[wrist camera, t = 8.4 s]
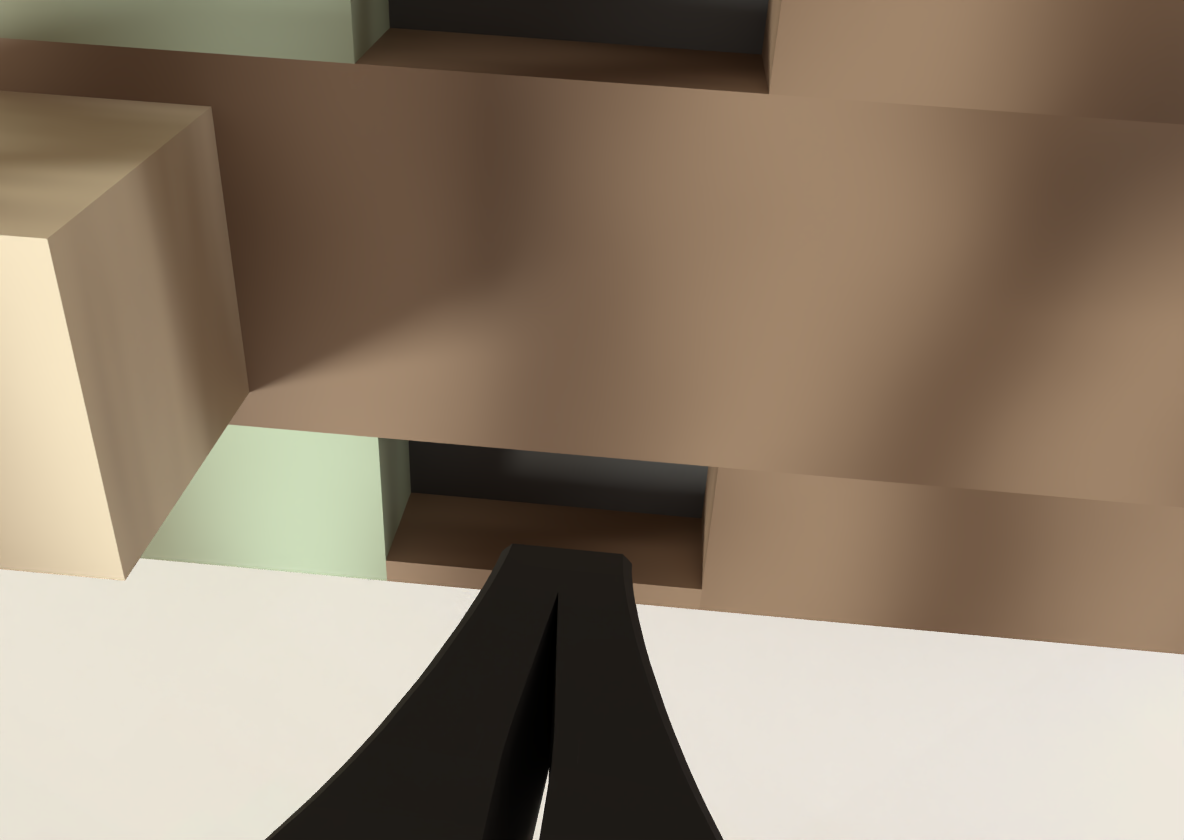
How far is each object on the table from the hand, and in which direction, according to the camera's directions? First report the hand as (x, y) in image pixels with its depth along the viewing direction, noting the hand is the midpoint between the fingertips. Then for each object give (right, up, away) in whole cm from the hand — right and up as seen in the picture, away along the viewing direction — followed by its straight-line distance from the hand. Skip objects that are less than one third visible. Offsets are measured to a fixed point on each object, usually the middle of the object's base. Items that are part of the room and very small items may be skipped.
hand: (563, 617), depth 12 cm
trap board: (+1, +6, +7) cm, 9 cm away
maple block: (-8, +5, +6) cm, 11 cm away
